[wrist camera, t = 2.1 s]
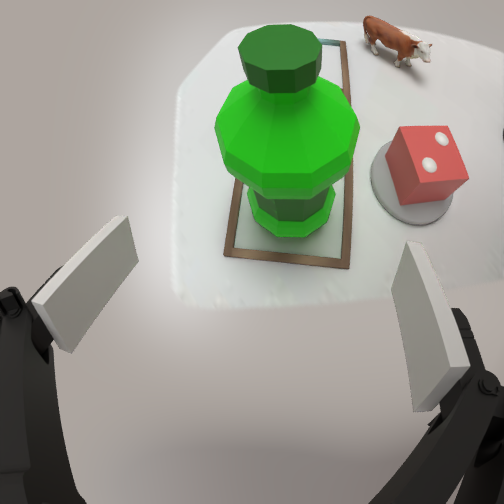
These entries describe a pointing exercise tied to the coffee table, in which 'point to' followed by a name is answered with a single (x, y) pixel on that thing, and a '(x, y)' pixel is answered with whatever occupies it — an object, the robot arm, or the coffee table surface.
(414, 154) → the red die stand
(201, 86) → the coffee table surface
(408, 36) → the bull figurine
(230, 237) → the walnut frame
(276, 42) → the plastic bottle
